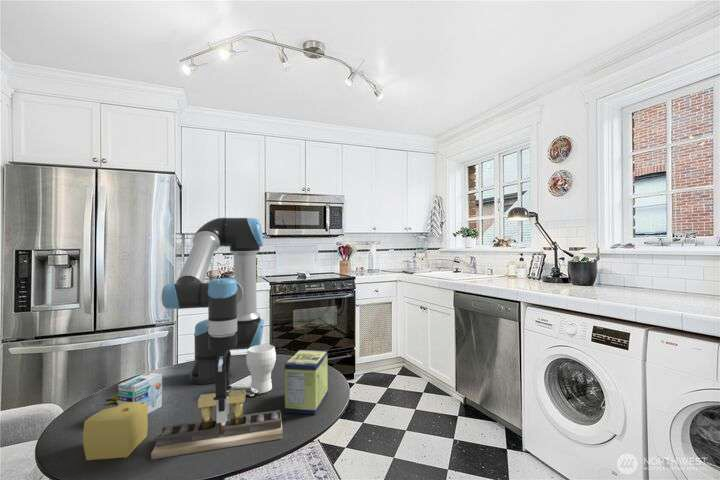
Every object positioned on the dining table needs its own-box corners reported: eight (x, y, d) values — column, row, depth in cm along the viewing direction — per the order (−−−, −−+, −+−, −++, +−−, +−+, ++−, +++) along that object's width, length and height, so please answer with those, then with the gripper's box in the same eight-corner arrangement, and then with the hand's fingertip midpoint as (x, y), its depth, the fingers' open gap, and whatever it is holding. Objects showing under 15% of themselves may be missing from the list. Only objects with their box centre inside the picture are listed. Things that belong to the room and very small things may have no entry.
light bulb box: (134, 422, 101) (134, 386, 102) (116, 419, 103) (116, 384, 103) (163, 405, 112) (163, 373, 112) (146, 403, 113) (146, 371, 114)
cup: (267, 396, 118) (267, 353, 118) (240, 394, 120) (240, 352, 120) (280, 384, 128) (280, 345, 129) (255, 382, 130) (255, 343, 131)
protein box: (328, 393, 120) (327, 350, 120) (316, 415, 105) (315, 365, 105) (300, 391, 122) (299, 348, 122) (284, 413, 106) (283, 363, 107)
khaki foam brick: (200, 427, 94) (200, 394, 94) (245, 420, 97) (245, 389, 97) (198, 433, 90) (198, 400, 90) (245, 426, 94) (244, 394, 94)
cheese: (109, 438, 93) (109, 402, 93) (150, 436, 94) (150, 400, 94) (81, 462, 83) (82, 421, 83) (127, 459, 84) (127, 419, 84)
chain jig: (164, 433, 95) (165, 420, 95) (280, 417, 104) (280, 405, 104) (151, 459, 83) (151, 444, 84) (282, 438, 92) (282, 424, 92)
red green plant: (96, 409, 110) (96, 395, 110) (112, 394, 122) (112, 381, 122) (138, 404, 114) (138, 391, 114) (150, 390, 125) (150, 377, 125)
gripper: (212, 327, 101) (212, 406, 101) (203, 343, 85) (203, 436, 85) (239, 326, 103) (239, 402, 103) (234, 340, 87) (234, 431, 87)
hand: (222, 417), depth 94 cm, fingers closed on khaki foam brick, 3 cm apart
